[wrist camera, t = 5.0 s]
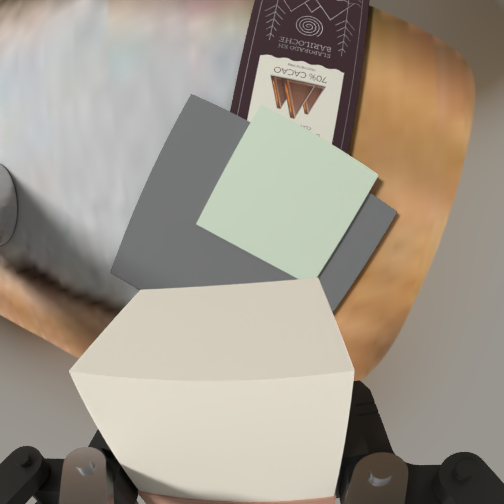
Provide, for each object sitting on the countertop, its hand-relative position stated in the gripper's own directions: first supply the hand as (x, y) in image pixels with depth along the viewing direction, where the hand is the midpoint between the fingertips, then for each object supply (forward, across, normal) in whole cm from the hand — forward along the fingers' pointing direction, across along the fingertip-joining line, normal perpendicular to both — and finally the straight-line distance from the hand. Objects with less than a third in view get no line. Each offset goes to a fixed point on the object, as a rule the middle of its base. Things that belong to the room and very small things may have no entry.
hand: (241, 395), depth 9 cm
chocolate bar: (+16, -5, -15) cm, 22 cm away
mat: (+16, +1, -1) cm, 16 cm away
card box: (0, 0, 0) cm, 0 cm away
